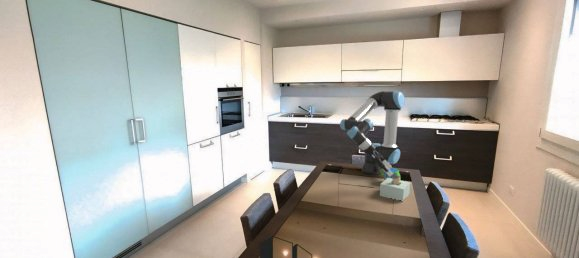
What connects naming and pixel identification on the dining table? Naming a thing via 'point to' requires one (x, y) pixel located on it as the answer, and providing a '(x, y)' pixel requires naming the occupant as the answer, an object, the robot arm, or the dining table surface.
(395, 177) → the wooden peg
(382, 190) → the block
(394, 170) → the snack cup
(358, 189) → the dining table surface
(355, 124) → the robot arm
